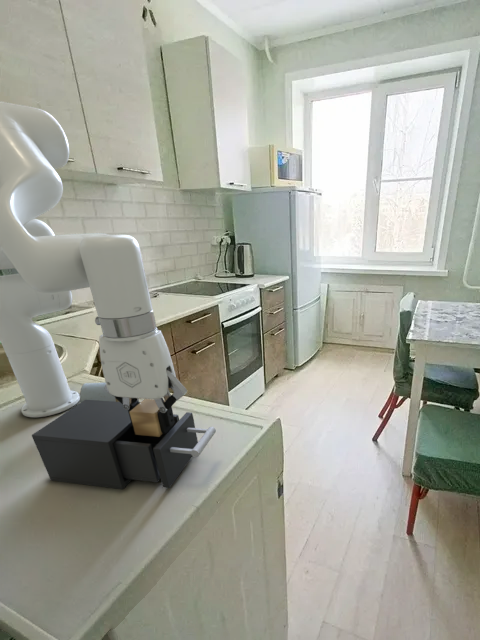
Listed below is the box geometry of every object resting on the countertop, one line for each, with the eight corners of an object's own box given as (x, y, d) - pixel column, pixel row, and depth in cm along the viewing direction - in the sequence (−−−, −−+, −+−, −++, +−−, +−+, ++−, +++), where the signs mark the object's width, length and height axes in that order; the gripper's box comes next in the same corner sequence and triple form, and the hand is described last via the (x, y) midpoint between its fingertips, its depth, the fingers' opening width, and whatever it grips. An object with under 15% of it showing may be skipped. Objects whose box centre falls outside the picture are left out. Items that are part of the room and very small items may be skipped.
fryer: (161, 445, 71) (151, 403, 66) (123, 489, 60) (107, 442, 55) (98, 439, 74) (85, 399, 69) (50, 480, 63) (31, 435, 58)
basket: (224, 449, 67) (219, 414, 64) (198, 491, 57) (190, 452, 53) (136, 441, 71) (127, 407, 67) (98, 479, 61) (84, 442, 57)
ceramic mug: (123, 416, 82) (115, 386, 79) (85, 422, 80) (75, 391, 77) (131, 397, 91) (124, 369, 88) (97, 401, 90) (88, 374, 87)
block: (135, 434, 59) (129, 411, 57) (150, 420, 63) (144, 398, 61) (159, 437, 58) (153, 413, 56) (173, 422, 62) (168, 400, 60)
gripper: (61, 331, 51) (97, 436, 59) (167, 333, 48) (189, 444, 56) (97, 317, 58) (124, 413, 66) (192, 318, 54) (209, 420, 62)
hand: (154, 426), depth 60 cm, fingers closed on block, 4 cm apart
